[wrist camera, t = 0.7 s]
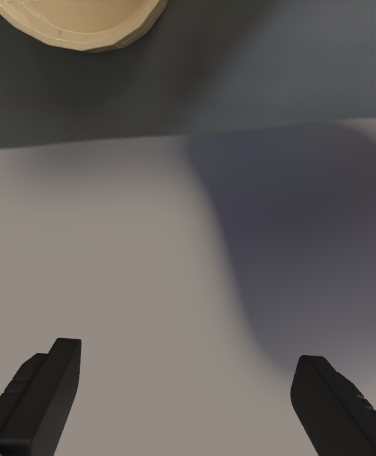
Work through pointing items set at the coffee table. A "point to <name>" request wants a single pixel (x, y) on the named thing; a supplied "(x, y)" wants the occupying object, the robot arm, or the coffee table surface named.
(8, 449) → the robot arm
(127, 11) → the bowl
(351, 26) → the coffee table surface
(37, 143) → the coffee table surface
